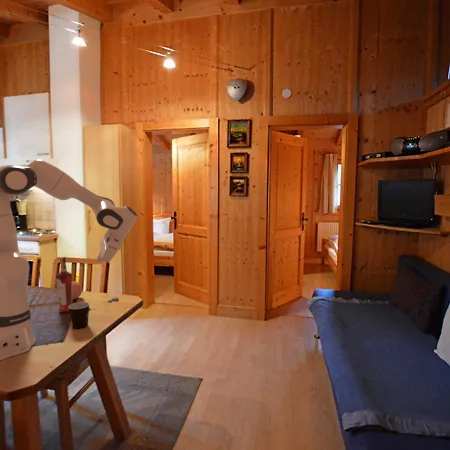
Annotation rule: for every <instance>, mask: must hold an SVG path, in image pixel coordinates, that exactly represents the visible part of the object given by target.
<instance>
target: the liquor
mask: <svg viewBox="0 0 450 450" xmlns="http://www.w3.org/2000/svg"><path fill="white" fill-rule="evenodd" d="M59 262H60V270H59V273H57V274H55V279H56V288H57V297H58V306H59V307H58V311H59V312H60V313H62V314H63V313H64V314H65V313H66V314H67V313H70V312H69V306H70V305H71V304H73V299H72V281H73V273H71V272H69V271H68V268H67V257H66V256H60V257H59Z"/></svg>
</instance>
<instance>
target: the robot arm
mask: <svg viewBox="0 0 450 450" xmlns="http://www.w3.org/2000/svg"><path fill="white" fill-rule="evenodd" d="M33 187H35V188H37V189H40V190H41V191H43V192H45V194H47V195H50V196H51V197H53V198H55V199H58V200H60V201H67V200H70V199H74V200H75V199H76V200H78V201H79V202H81V203H82V204H85V205H86V206H88V207H89V208H90V209H92V212H94V215H95V219H96V222H97V223H98V225H100V226H101V227H103V228H105V229H107V230H106V231H105V233H104V234H103V238H102V239H101V241H100V242H99V245H100V246H99V247H100V251H99V253H98V256H97V257H96V261H97V262H98V263H101V262H104V263H107V264H108V263H110V262H111V261H112V259H114V257H115V256H116V255H117V253H118V251H120V250H121V249H122V246H123V242H124V240H125V239H126V238H127V235H128V233H129V232H130V231H131V230H132V229H133V227H134V225H135V224H136V221H137V220H138V214H137V213H136V211H135V210H134V209H133V208H132V207H130V206H127V205H125V206H116V205H115V202H114V200H112V199H110V198H108V197H105V196H99V195H98V194H95V193H94V192H92V191H90V190H89V189H87V188H85V187H84V186H83V185H81V184H80V183H79V182H77V181H76V180H75V179H74V178H72V177H71V176H70V175H69V174H67V173H66V172H65V171H63V170H61V169H60V168H58V167H57V166H55V165H53V164H52V163H49V162H47V161H46V160H42V159H35V160H33V161H31V162H30V163H29V164H28V165H27V166H20V165H13V164H9V165H4V166H2V167H0V361H3V360H5V359H8V358H12V357H14V356H17V355H21V354H23V353H26V352H28V351H30V350H31V347H33V345H35V343H36V340H37V339H36V338H35V335H34V332H33V330H32V325H31V324H32V323H31V316H32V315H31V309H30V307H29V297H28V284H29V271H30V264H29V261H28V259H27V257H25V256H24V255H23V254H22V253H21V252H20V248H19V245H18V244H19V243H18V242H19V241H18V231H17V227H16V222H15V219H14V216H13V211H12V207H11V198H12V196H14V195H15V196H18V195H22V194H25V193H27V192H29V190H30V189H32V188H33ZM11 356H12V357H11Z"/></svg>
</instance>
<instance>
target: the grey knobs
mask: <svg viewBox="0 0 450 450" xmlns="http://www.w3.org/2000/svg"><path fill="white" fill-rule="evenodd" d="M116 300H117V301H119V296H113V297H111V299H109V300H108V301H107V302H108V303H113V302H116ZM112 301H113V302H112ZM90 310H92V308H90V307H89V311H90Z"/></svg>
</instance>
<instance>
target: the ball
mask: <svg viewBox="0 0 450 450" xmlns="http://www.w3.org/2000/svg"><path fill="white" fill-rule="evenodd" d="M82 294H83V287H82V285H81V284H80V283H79V282H77V281H73V280H72V300H76V299H78V298H79V297H81V295H82Z"/></svg>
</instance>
